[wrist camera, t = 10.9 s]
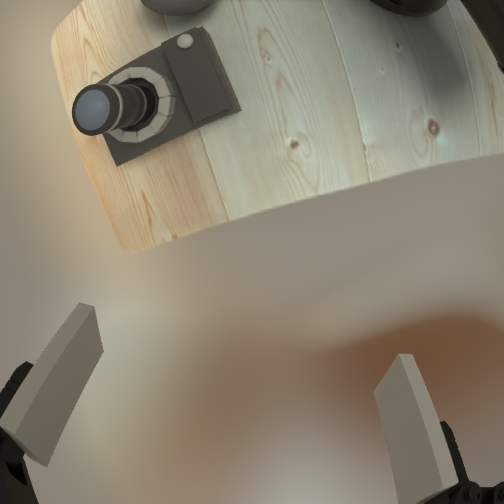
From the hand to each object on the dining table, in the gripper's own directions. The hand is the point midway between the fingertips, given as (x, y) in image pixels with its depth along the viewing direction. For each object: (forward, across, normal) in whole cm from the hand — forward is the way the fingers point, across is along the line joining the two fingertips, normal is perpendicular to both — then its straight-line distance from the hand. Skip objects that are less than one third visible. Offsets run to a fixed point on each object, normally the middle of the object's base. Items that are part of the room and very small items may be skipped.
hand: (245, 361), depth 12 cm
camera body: (+29, -14, +10) cm, 33 cm away
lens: (+25, -16, +8) cm, 30 cm away
